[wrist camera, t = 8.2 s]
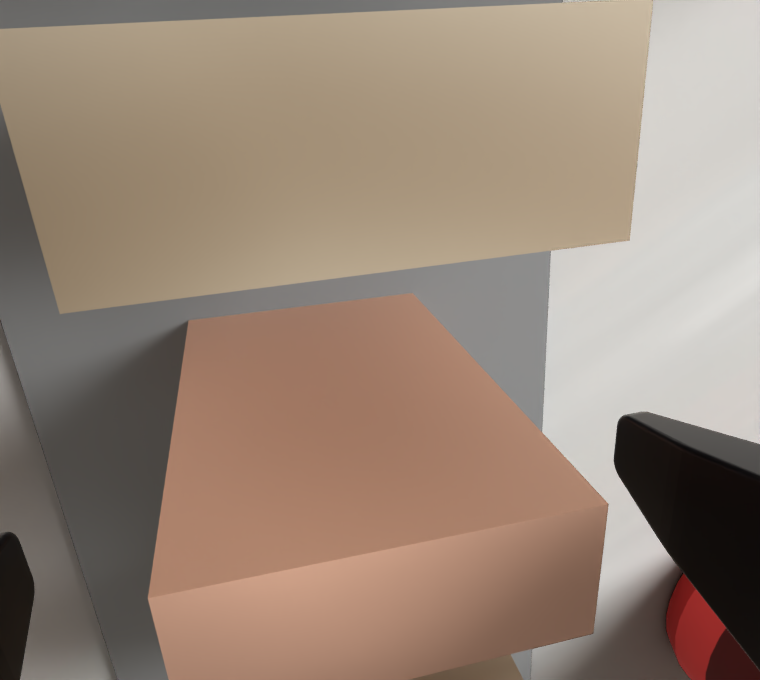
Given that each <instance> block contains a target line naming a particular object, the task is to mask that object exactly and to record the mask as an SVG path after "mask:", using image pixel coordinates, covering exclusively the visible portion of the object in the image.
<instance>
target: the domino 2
mask: <svg viewBox="0 0 760 680" xmlns="http://www.w3.org/2000/svg"><path fill="white" fill-rule="evenodd" d="M607 513H608V503H607V502H606V501H605V500H604V499H603V498H602V497H601V495H600V494H599V493H598V492H597V491H596V490H595V489H594V488H593V487H592V486H591V485H590V484H589V483H588V481H587V480H586V479H585V478H584V477H583V476H582V475H581V474H580V473H579V472H578V471H577V470H576V469H575V467H574V466H573V465H572V464H571V463H570V462H569V461H568V460H567V459H566V458H565V457H564V456H563V455H562V453H561V452H560V451H559V450H558V449H557V448H556V447H555V446H554V445H553V444H552V443H551V442H550V441H549V439H548V438H547V437H546V436H545V435H544V434H543V433H542V432H541V431H540V430H539V429H538V428H537V427H536V425H535V424H534V423H533V422H532V421H531V420H530V419H529V418H528V417H527V416H526V415H525V414H524V413H523V411H522V410H521V409H520V408H519V407H518V406H517V405H516V404H515V403H514V402H513V401H512V400H511V399H510V397H509V396H508V395H507V394H506V393H505V392H504V391H503V390H502V389H501V388H500V387H499V386H498V385H497V383H496V382H495V381H494V380H493V379H492V378H491V377H490V376H489V375H488V374H487V373H486V372H485V371H484V369H483V368H482V367H481V366H480V365H479V364H478V363H477V362H476V361H475V360H474V359H473V358H472V357H471V355H470V354H469V353H468V352H467V351H466V350H465V349H464V348H463V347H462V346H461V345H460V344H459V343H458V341H457V340H456V339H455V338H454V337H453V336H452V335H451V334H450V333H449V332H448V331H447V330H446V329H445V327H444V326H443V325H442V324H441V323H440V322H439V321H438V320H437V319H436V318H435V317H434V316H433V315H432V313H431V312H430V311H429V310H428V309H427V308H426V307H425V306H424V305H423V304H422V303H421V302H420V301H419V299H418V298H417V297H416V296H415V295H414V294H413V293H409V294H401V295H392V296H384V297H376V298H368V299H360V300H352V301H343V302H335V303H327V304H319V305H311V306H302V307H294V308H286V309H278V310H270V311H262V312H253V313H245V314H237V315H229V316H221V317H212V318H204V319H196V320H189V321H188V328H187V335H186V342H185V348H184V355H183V362H182V369H181V376H180V382H179V389H178V396H177V403H176V410H175V416H174V423H173V430H172V437H171V444H170V450H169V457H168V464H167V471H166V478H165V485H164V491H163V498H162V505H161V512H160V519H159V525H158V532H157V539H156V546H155V553H154V559H153V566H152V573H151V580H150V587H149V594H148V601H149V605H150V609H151V613H152V617H153V621H154V625H155V628H156V632H157V636H158V640H159V644H160V648H161V652H162V656H163V660H164V664H165V668H166V671H167V675H168V679H169V680H409V679H413V678H417V677H421V676H425V675H429V674H433V673H437V672H441V671H445V670H449V669H453V668H457V667H461V666H465V665H469V664H473V663H478V662H482V661H486V660H490V659H494V658H498V657H502V656H506V655H510V654H514V653H518V652H522V651H526V650H530V649H534V648H538V647H542V646H546V645H550V644H554V643H558V642H562V641H566V640H570V639H574V638H578V637H582V636H586V635H590V634H593V631H594V623H595V614H596V606H597V597H598V589H599V580H600V572H601V564H602V555H603V547H604V538H605V530H606V521H607Z"/></svg>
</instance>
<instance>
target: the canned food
mask: <svg viewBox="0 0 760 680" xmlns="http://www.w3.org/2000/svg"><path fill="white" fill-rule="evenodd" d="M666 631H667V634H668V637H669V640H670V643H671V646H672V648H673V650H674V653H675V655H676V658H677V660H678V663H679V665H680V666H681V667H682V669H683V670H684V671H685V673H686V674H687V675H688V677H689V678H690V679H691V680H760V670H759V669H758V668H757V667H756V665H755V664H754V663H753V662H752V660H751V659H750V658H749V656H748V655H747V654H746V653H745V651H744V650H743V649H742V647H741V646H740V645H739V644H738V642H737V641H736V640H735V638H734V637H733V636H732V635H731V633H730V632H729V631H728V629H727V628H726V627H725V626H724V624H723V623H722V622H721V621H720V619H719V618H718V617H717V615H716V614H715V613H714V612H713V610H712V609H711V608H710V606H709V605H708V604H707V603H706V601H705V600H704V599H703V597H702V596H701V595H700V594H699V592H698V591H697V590H696V589H695V587H694V586H693V585H692V583H691V582H690V581H689V580H688V578H687V577H686V576H685V574H684V573H683V575H682V576H681V578H680V579H679V581H678V583H677V585H676V587H675V590H674V592H673V594H672V596H671V599H670V602H669V606H668V610H667V615H666Z"/></svg>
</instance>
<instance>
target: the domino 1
mask: <svg viewBox="0 0 760 680" xmlns="http://www.w3.org/2000/svg"><path fill="white" fill-rule="evenodd" d="M652 7H653V0H611V1H590V2H568V3H547V4H525V5H504V6H482V7H461V8H439V9H418V10H396V11H375V12H353V13H332V14H310V15H289V16H267V17H246V18H224V19H203V20H181V21H160V22H138V23H117V24H95V25H74V26H52V27H31V28H9V29H0V105H1V108H2V112H3V115H4V119H5V122H6V126H7V129H8V133H9V136H10V140H11V144H12V147H13V151H14V154H15V158H16V161H17V165H18V168H19V172H20V175H21V179H22V182H23V186H24V189H25V193H26V196H27V200H28V203H29V207H30V210H31V214H32V218H33V221H34V225H35V228H36V232H37V235H38V239H39V242H40V246H41V249H42V253H43V256H44V260H45V263H46V267H47V270H48V274H49V277H50V281H51V284H52V288H53V292H54V295H55V299H56V302H57V306H58V309H59V313H60V314H63V313H71V312H79V311H86V310H94V309H102V308H110V307H117V306H125V305H133V304H141V303H149V302H156V301H164V300H172V299H180V298H187V297H195V296H203V295H211V294H218V293H226V292H234V291H242V290H249V289H257V288H265V287H273V286H280V285H288V284H296V283H304V282H311V281H319V280H327V279H335V278H342V277H350V276H358V275H366V274H373V273H381V272H389V271H397V270H404V269H412V268H420V267H428V266H435V265H443V264H451V263H459V262H466V261H474V260H482V259H490V258H497V257H505V256H513V255H521V254H528V253H536V252H544V251H552V250H559V249H567V248H575V247H583V246H590V245H598V244H606V243H614V242H621V241H629V240H630V230H631V220H632V210H633V200H634V190H635V180H636V169H637V159H638V149H639V139H640V129H641V119H642V108H643V98H644V88H645V78H646V68H647V57H648V47H649V37H650V27H651V17H652Z"/></svg>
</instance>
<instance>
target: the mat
mask: <svg viewBox="0 0 760 680" xmlns="http://www.w3.org/2000/svg"><path fill="white" fill-rule="evenodd" d="M547 3H563V0H0V29H9V28H31V27H52V26H74V25H95V24H117V23H138V22H160V21H181V20H203V19H224V18H246V17H267V16H289V15H310V14H332V13H353V12H375V11H396V10H418V9H439V8H461V7H482V6H504V5H525V4H547ZM550 256H551V251H544V252H536V253H528V254H521V255H513V256H505V257H497V258H490V259H482V260H474V261H466V262H459V263H451V264H443V265H435V266H428V267H420V268H412V269H404V270H397V271H389V272H381V273H373V274H366V275H358V276H350V277H342V278H335V279H327V280H319V281H311V282H304V283H296V284H288V285H280V286H273V287H265V288H257V289H249V290H242V291H234V292H226V293H218V294H211V295H203V296H195V297H187V298H180V299H172V300H164V301H156V302H149V303H141V304H133V305H125V306H117V307H110V308H102V309H94V310H86V311H79V312H71V313H63V314H60V313H59V309H58V306H57V302H56V299H55V295H54V292H53V288H52V284H51V281H50V277H49V274H48V270H47V267H46V263H45V260H44V256H43V253H42V249H41V246H40V242H39V239H38V235H37V232H36V228H35V225H34V221H33V218H32V214H31V210H30V207H29V203H28V200H27V196H26V193H25V189H24V186H23V182H22V179H21V175H20V172H19V168H18V165H17V161H16V158H15V154H14V151H13V147H12V144H11V140H10V136H9V133H8V129H7V126H6V122H5V119H4V115H3V112H2V108H1V105H0V320H1V323H2V326H3V329H4V332H5V336H6V339H7V342H8V345H9V348H10V351H11V354H12V357H13V360H14V363H15V366H16V369H17V372H18V375H19V379H20V382H21V385H22V388H23V391H24V394H25V397H26V400H27V403H28V406H29V409H30V412H31V415H32V418H33V422H34V425H35V428H36V431H37V434H38V437H39V440H40V443H41V446H42V449H43V452H44V455H45V458H46V461H47V465H48V468H49V471H50V474H51V477H52V480H53V483H54V486H55V489H56V492H57V495H58V498H59V501H60V504H61V508H62V511H63V514H64V517H65V520H66V523H67V526H68V529H69V532H70V535H71V538H72V541H73V544H74V547H75V551H76V554H77V557H78V560H79V563H80V566H81V569H82V572H83V575H84V578H85V581H86V584H87V587H88V590H89V594H90V597H91V600H92V603H93V606H94V609H95V612H96V615H97V618H98V621H99V624H100V627H101V630H102V634H103V637H104V640H105V643H106V646H107V649H108V652H109V655H110V658H111V661H112V664H113V667H114V670H115V673H116V677H117V680H169V679H168V675H167V671H166V668H165V664H164V660H163V656H162V652H161V648H160V644H159V640H158V636H157V632H156V628H155V625H154V621H153V617H152V613H151V609H150V605H149V601H148V594H149V587H150V580H151V573H152V566H153V559H154V553H155V546H156V539H157V532H158V525H159V519H160V512H161V505H162V498H163V491H164V485H165V478H166V471H167V464H168V457H169V450H170V444H171V437H172V430H173V423H174V416H175V410H176V403H177V396H178V389H179V382H180V376H181V369H182V362H183V355H184V348H185V342H186V335H187V328H188V321H189V320H196V319H204V318H212V317H221V316H229V315H237V314H245V313H253V312H262V311H270V310H278V309H286V308H294V307H302V306H311V305H319V304H327V303H335V302H343V301H352V300H360V299H368V298H376V297H384V296H392V295H401V294H409V293H413V294H414V295H415V296H416V297H417V298H418V299H419V301H420V302H421V303H422V304H423V305H424V306H425V307H426V308H427V309H428V310H429V311H430V312H431V313H432V315H433V316H434V317H435V318H436V319H437V320H438V321H439V322H440V323H441V324H442V325H443V326H444V327H445V329H446V330H447V331H448V332H449V333H450V334H451V335H452V336H453V337H454V338H455V339H456V340H457V341H458V343H459V344H460V345H461V346H462V347H463V348H464V349H465V350H466V351H467V352H468V353H469V354H470V355H471V357H472V358H473V359H474V360H475V361H476V362H477V363H478V364H479V365H480V366H481V367H482V368H483V369H484V371H485V372H486V373H487V374H488V375H489V376H490V377H491V378H492V379H493V380H494V381H495V382H496V383H497V385H498V386H499V387H500V388H501V389H502V390H503V391H504V392H505V393H506V394H507V395H508V396H509V397H510V399H511V400H512V401H513V402H514V403H515V404H516V405H517V406H518V407H519V408H520V409H521V410H522V411H523V413H524V414H525V415H526V416H527V417H528V418H529V419H530V420H531V421H532V422H533V423H534V424H535V425H536V427H537V428H538V429H539V430H540V431H541V432H542V424H543V403H544V382H545V361H546V340H547V319H548V298H549V277H550ZM531 655H532V649H530V650H526V651H522V652H518V653H514V654H511V656H512V658H513V660H514V662H515V664H516V666H517V668H518V670H519V672H520V674H521V676H522V678H523V680H530V676H531Z"/></svg>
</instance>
